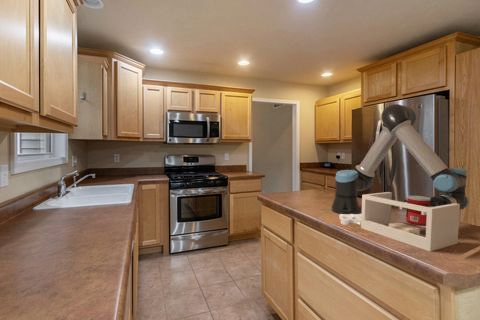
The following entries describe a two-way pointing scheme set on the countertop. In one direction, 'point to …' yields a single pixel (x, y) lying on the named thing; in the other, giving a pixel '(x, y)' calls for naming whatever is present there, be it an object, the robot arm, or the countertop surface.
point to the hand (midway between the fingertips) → (411, 208)
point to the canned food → (414, 215)
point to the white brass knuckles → (350, 218)
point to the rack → (437, 232)
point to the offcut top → (405, 227)
